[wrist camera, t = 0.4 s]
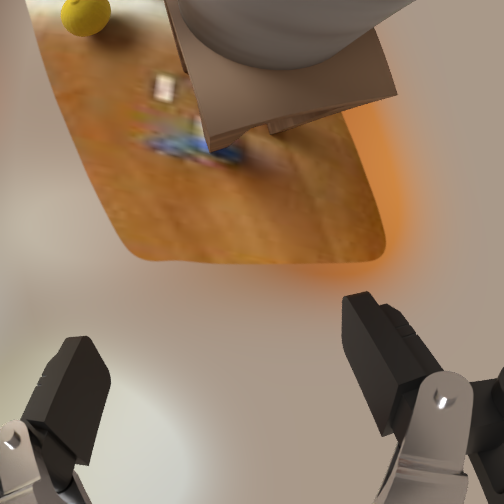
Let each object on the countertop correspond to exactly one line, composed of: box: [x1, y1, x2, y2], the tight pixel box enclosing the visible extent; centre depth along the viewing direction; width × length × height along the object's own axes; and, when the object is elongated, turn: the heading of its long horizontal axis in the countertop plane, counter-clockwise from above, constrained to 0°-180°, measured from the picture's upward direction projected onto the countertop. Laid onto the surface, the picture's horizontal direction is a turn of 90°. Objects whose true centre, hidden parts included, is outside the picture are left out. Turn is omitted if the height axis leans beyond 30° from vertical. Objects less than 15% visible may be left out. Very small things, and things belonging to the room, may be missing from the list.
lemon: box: [61, 0, 111, 37], centre depth 22 cm, size 6×6×8 cm
